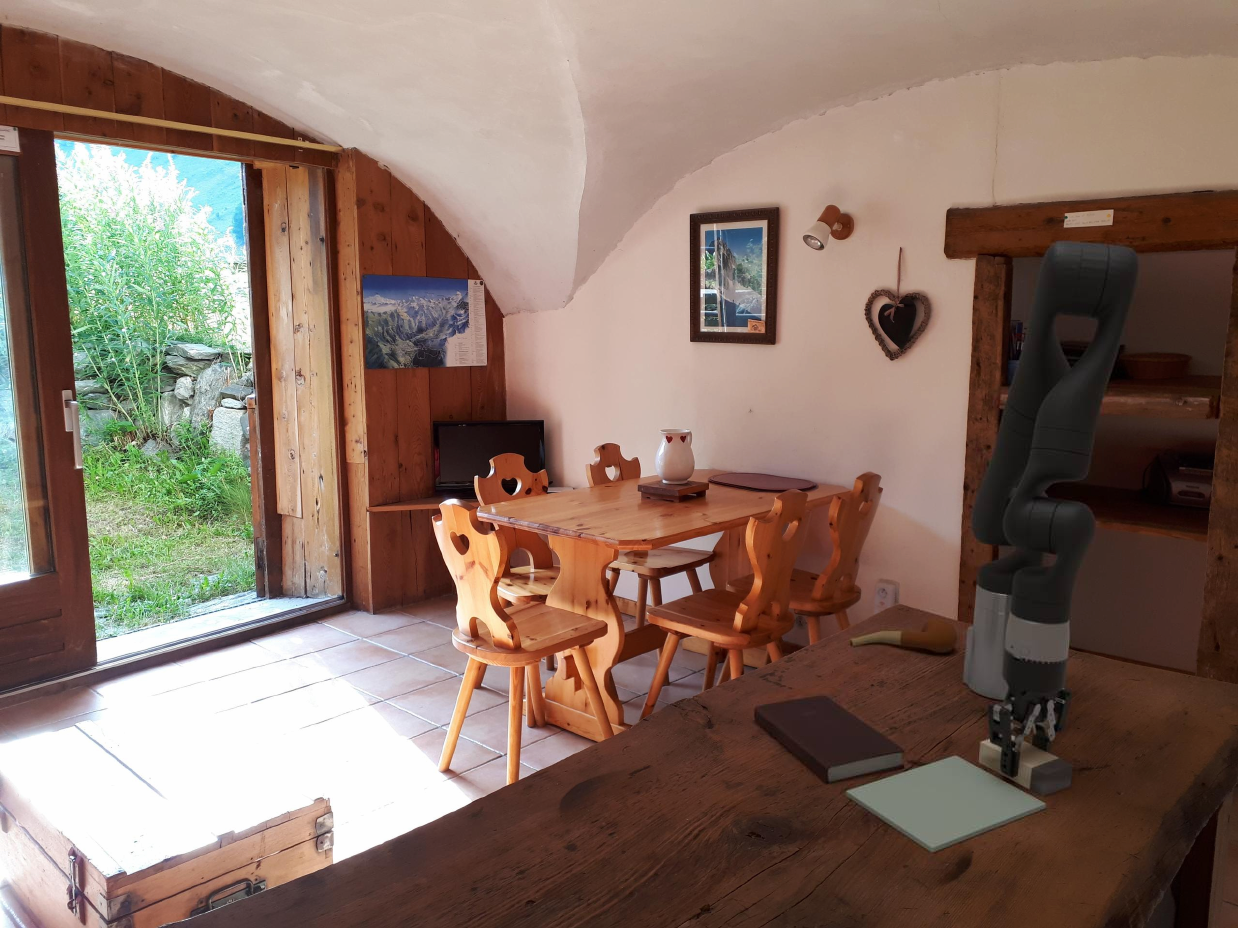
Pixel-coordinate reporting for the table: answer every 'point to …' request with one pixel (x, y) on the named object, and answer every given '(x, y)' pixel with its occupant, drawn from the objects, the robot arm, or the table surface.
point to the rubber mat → (944, 802)
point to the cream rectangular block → (1031, 767)
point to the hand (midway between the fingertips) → (1024, 768)
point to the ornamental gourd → (917, 637)
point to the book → (829, 738)
